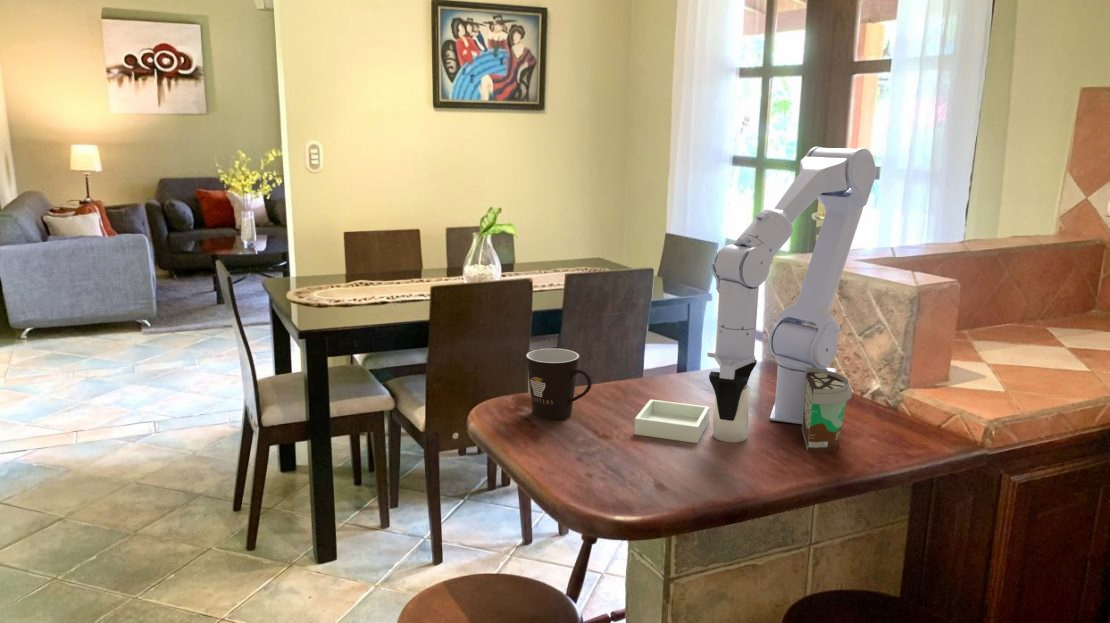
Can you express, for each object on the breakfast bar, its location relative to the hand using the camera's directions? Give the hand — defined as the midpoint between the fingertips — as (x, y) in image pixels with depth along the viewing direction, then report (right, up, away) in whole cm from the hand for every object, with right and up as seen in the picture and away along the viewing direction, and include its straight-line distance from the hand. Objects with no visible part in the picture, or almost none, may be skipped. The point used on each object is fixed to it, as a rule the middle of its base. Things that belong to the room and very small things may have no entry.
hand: (730, 411), depth 126 cm
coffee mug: (-27, -2, +9) cm, 28 cm away
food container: (+14, -5, -1) cm, 15 cm away
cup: (0, -4, +1) cm, 4 cm away
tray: (-8, -3, +4) cm, 10 cm away
